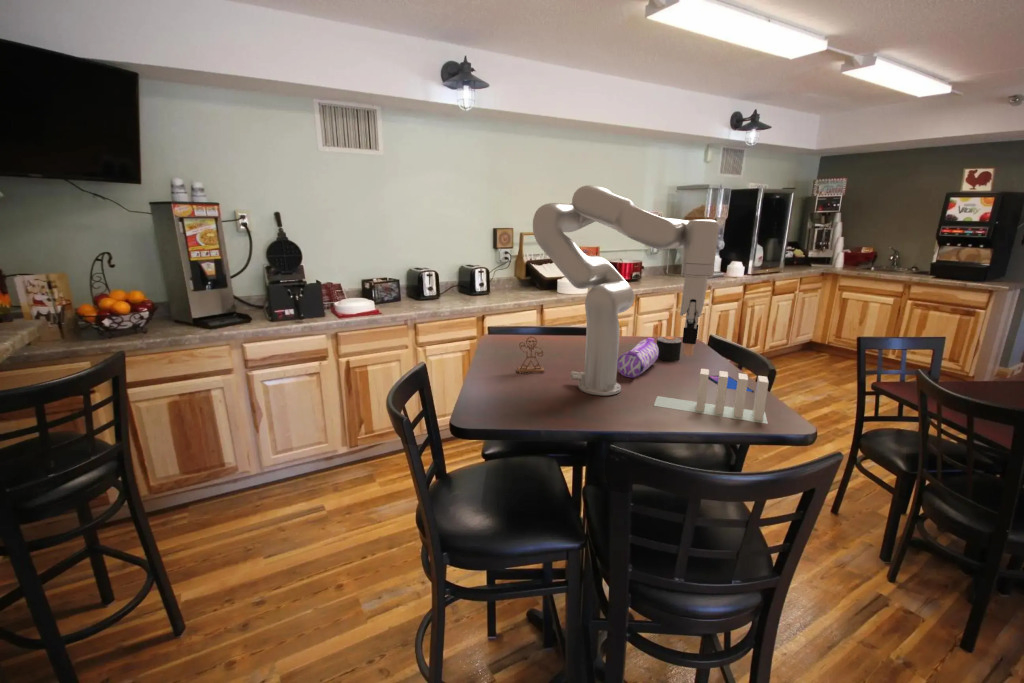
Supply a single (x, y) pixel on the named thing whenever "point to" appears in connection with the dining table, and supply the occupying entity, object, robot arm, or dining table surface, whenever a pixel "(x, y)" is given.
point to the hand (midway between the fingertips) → (689, 340)
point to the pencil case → (638, 358)
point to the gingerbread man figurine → (535, 368)
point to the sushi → (669, 348)
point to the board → (708, 409)
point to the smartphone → (730, 384)
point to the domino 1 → (689, 347)
